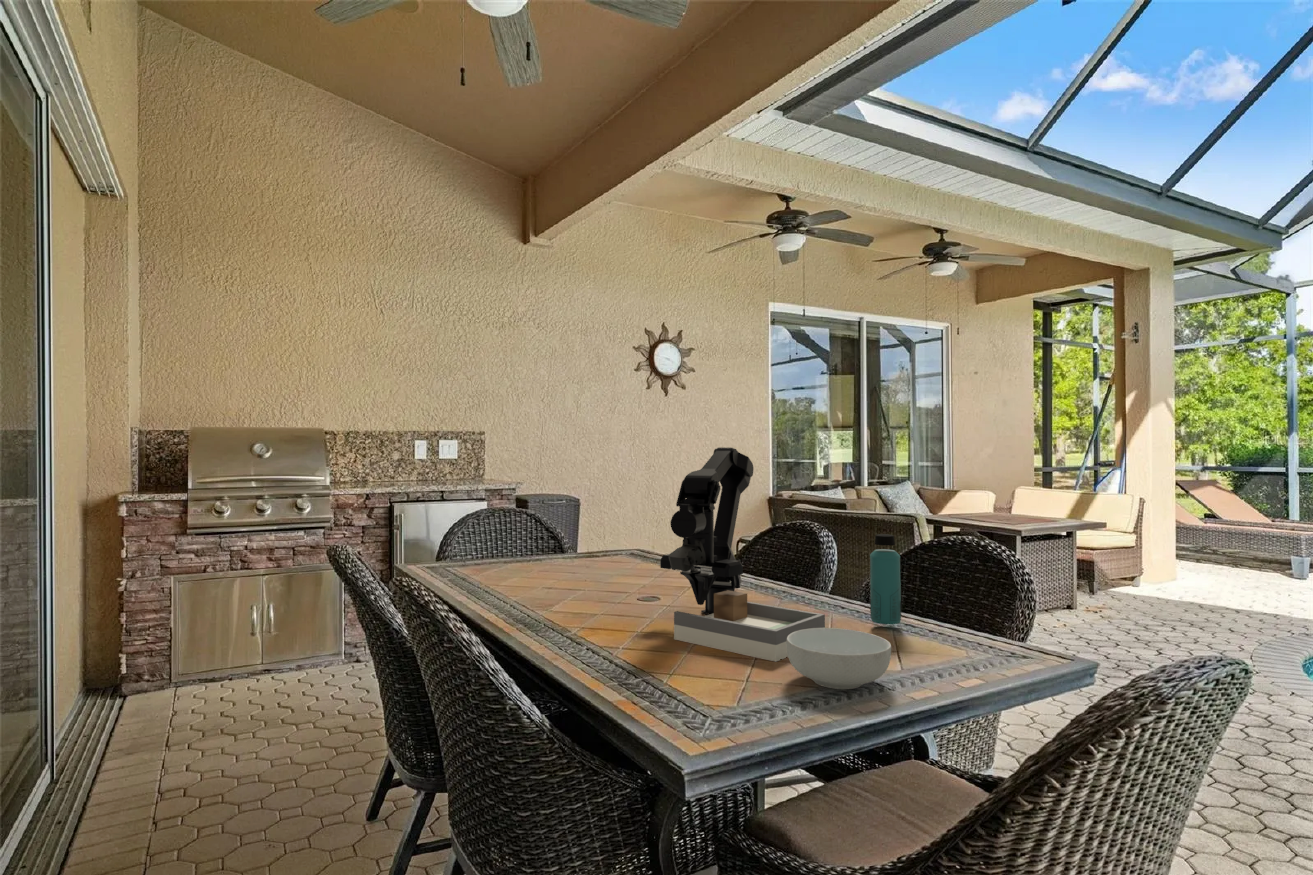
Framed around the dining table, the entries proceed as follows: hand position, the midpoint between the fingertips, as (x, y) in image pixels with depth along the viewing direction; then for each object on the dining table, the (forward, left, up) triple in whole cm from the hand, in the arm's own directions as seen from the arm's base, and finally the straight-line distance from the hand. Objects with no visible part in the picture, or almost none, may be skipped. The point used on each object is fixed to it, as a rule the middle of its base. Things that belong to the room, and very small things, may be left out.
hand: (700, 604), depth 166 cm
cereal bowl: (+41, -16, -5) cm, 44 cm away
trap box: (+15, -4, -5) cm, 16 cm away
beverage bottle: (+31, +24, -5) cm, 40 cm away
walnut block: (+8, 0, -2) cm, 8 cm away
